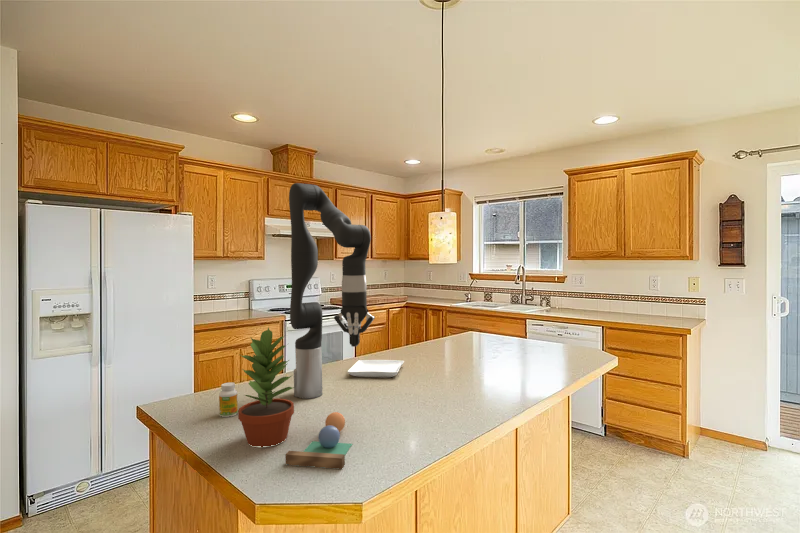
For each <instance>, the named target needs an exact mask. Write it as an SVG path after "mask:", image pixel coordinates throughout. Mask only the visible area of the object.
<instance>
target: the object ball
mask: <svg viewBox="0 0 800 533" xmlns="http://www.w3.org/2000/svg"><path fill="white" fill-rule="evenodd" d="M317 438H318V442H320V444H321V445H322V446H323V447H325V448H332V447H334V446H336V445H337V443H340V438H341V434H340V432H339V430H338V429H337V428H336V427H334V426H332V425H328V426H326V425H325V426H323V427H322V428H321V429H320V431H319V433H318V437H317Z"/></svg>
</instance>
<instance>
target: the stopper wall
mask: <svg viewBox="0 0 800 533" xmlns="http://www.w3.org/2000/svg"><path fill="white" fill-rule="evenodd" d="M345 456H346V455H344V454H330V453H315V452H303V451H297V450H288V451H287V452H286V453H285V458H284V460H285V465H286V464H289V465H288V466H294V465H299V466H298V467H307V466H315V467H314V468H320V467H325V468H324V469H333V468H339V469H338V470H343V469H344V467H345V466H344V465H346V462H345V460H346V459H345V458H346V457H345ZM342 468H343V469H342Z"/></svg>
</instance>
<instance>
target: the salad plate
mask: <svg viewBox="0 0 800 533" xmlns="http://www.w3.org/2000/svg"><path fill="white" fill-rule="evenodd" d="M404 363H405V360H398V359H397V360H394V359H359V360H357V361H356V362H355V363H354V364H353V365H352V366H351V367H350V368H349V369H348V370H347V374H349V375H351V376H353V377H359V378H391V377H395V376H397V374H398V373H399V371H400V369H401V367H402V366H403V364H404Z"/></svg>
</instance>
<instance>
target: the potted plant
mask: <svg viewBox="0 0 800 533" xmlns="http://www.w3.org/2000/svg"><path fill="white" fill-rule="evenodd" d="M284 337H285V335H284V336H280V337H279V338H277V339H276V340H275V341H274V342H273V331H272V330H271V329H270V328H269V326H268V328H267V330H264V331H262V333H261V334H260V339H255V338H253V337H250V339H251V343H249V344H250V347H251V349H252V351H253V353H254V354H253V355H246V354H245V355H242V354H239V356H240V357H242V358H244V359H245V360H246V361H247V360H248V361H249V362H251V363H252V365H251V367H252V370H251V369H246V370H245V369H243V368H242V369H241V370H242V371H243V372H244V373H245V374H246V375H247V376H249V377H250V378H251V379H252V380H250V379H249V380H248V381H249V382H248V385H249V386H250V387H251V388H252V389H253V390H254V391H255V393H257V396H258V397H257V396H254V395H249V394H245V395H244V394H243V396H245V397H248V398H251V399H254V401H251V402H247V403H245V404H244V405H242V406H240V407H238V413H237V414H238V415H237V416H238V420H239V422H240V423H241V425H242V430H243V433H244V435H245V436H244V437H245V438H246V442H247V445H249V444H250V445H252V446H261V447H263V446H271V445H276V444H278V443H281V442H282V441H284V440H285V439H286V440H287V437H288V435H289V434H288V433H289V429H290V425H291V420H292V415H294V414H295V406H294V405H295V403H294V402H293V401H292V400H290V399H285V398H275V397H277V396H279V395H282V394H283V393H284V394H285V393H287V392H288V391H290V390H292V389H294V386H287V387H283V388H281V389H279V390H277V391H276V390H275V389H276V388H278V387H279V386H280V385H282V384H284V383H285V382H286V381H288V380H289V379H290V378H291V377H292V375H290V376H283V377H280V378H278V379H277V380H276V381H274V380H275V378H276V376H277V375H278V374H280V373H281V372H282V371H283V370H284V369H285V368H286V367H287V365H288V362H289V361H290V359H288V360H283V358H284V355H283V354H281V355H279V356H278V357H276V358H275V359H274V360H273V358H274V357H275V356H277V355H278V354H279V353H280V352H281V351H282V350H283V349H285V348H286V346H287V345H289V343H287V344H284V345H281V346H279V347H277V346H278V345H279V343H280V342H281V341H282V340H283V338H284ZM276 347H277V349H276ZM273 350H274V351H273ZM282 360H283V361H282ZM253 380H254V381H253ZM295 387H296V386H295ZM274 390H275V391H274ZM286 440H285V441H286ZM285 441H284V442H285ZM282 443H283V442H282ZM282 443H281V444H282ZM250 445H249V446H250ZM278 445H279V444H278ZM252 446H251V447H252ZM276 446H277V445H276Z"/></svg>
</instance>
